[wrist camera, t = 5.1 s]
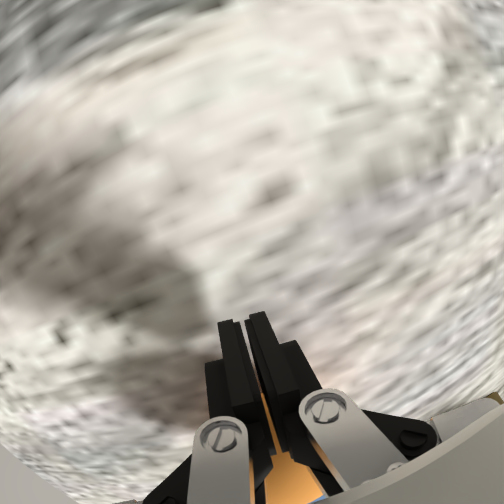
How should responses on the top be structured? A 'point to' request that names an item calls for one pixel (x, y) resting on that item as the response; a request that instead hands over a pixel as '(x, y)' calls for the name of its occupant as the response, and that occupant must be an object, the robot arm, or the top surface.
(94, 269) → the top surface
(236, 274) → the top surface
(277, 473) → the ball
